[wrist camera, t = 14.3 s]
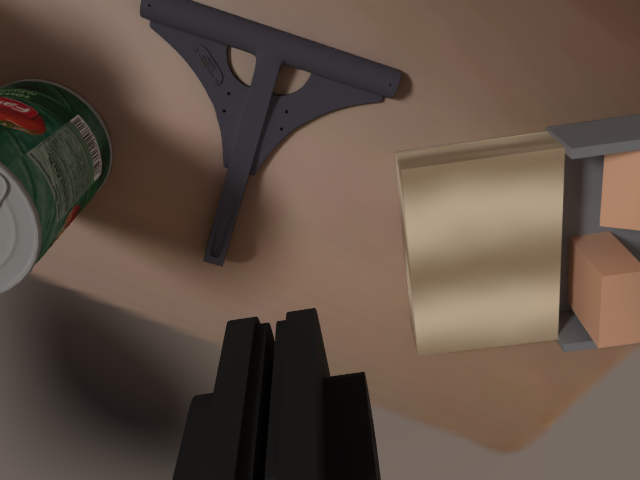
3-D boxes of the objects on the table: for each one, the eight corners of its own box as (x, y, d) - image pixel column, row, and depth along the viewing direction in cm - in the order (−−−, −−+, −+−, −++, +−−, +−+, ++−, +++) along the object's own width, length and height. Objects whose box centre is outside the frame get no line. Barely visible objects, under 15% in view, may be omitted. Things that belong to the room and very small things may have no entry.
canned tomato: (52, 228, 39) (-38, 328, 29) (-50, 132, 36) (-188, 207, 26) (141, 156, 37) (77, 238, 27) (41, 48, 34) (-73, 96, 24)
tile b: (602, 276, 34) (647, 270, 34) (569, 237, 39) (609, 231, 38) (598, 348, 36) (641, 342, 36) (567, 302, 41) (605, 297, 41)
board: (395, 152, 37) (401, 169, 34) (546, 131, 36) (564, 147, 33) (411, 329, 42) (418, 356, 40) (542, 313, 42) (557, 339, 39)
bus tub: (546, 127, 36) (572, 148, 32) (694, 106, 35) (737, 125, 32) (542, 316, 42) (563, 352, 38) (668, 301, 41) (702, 335, 38)
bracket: (107, 221, 39) (94, 241, 37) (150, -16, 33) (137, -11, 30) (320, 279, 41) (320, 301, 39) (399, 67, 35) (405, 78, 33)
